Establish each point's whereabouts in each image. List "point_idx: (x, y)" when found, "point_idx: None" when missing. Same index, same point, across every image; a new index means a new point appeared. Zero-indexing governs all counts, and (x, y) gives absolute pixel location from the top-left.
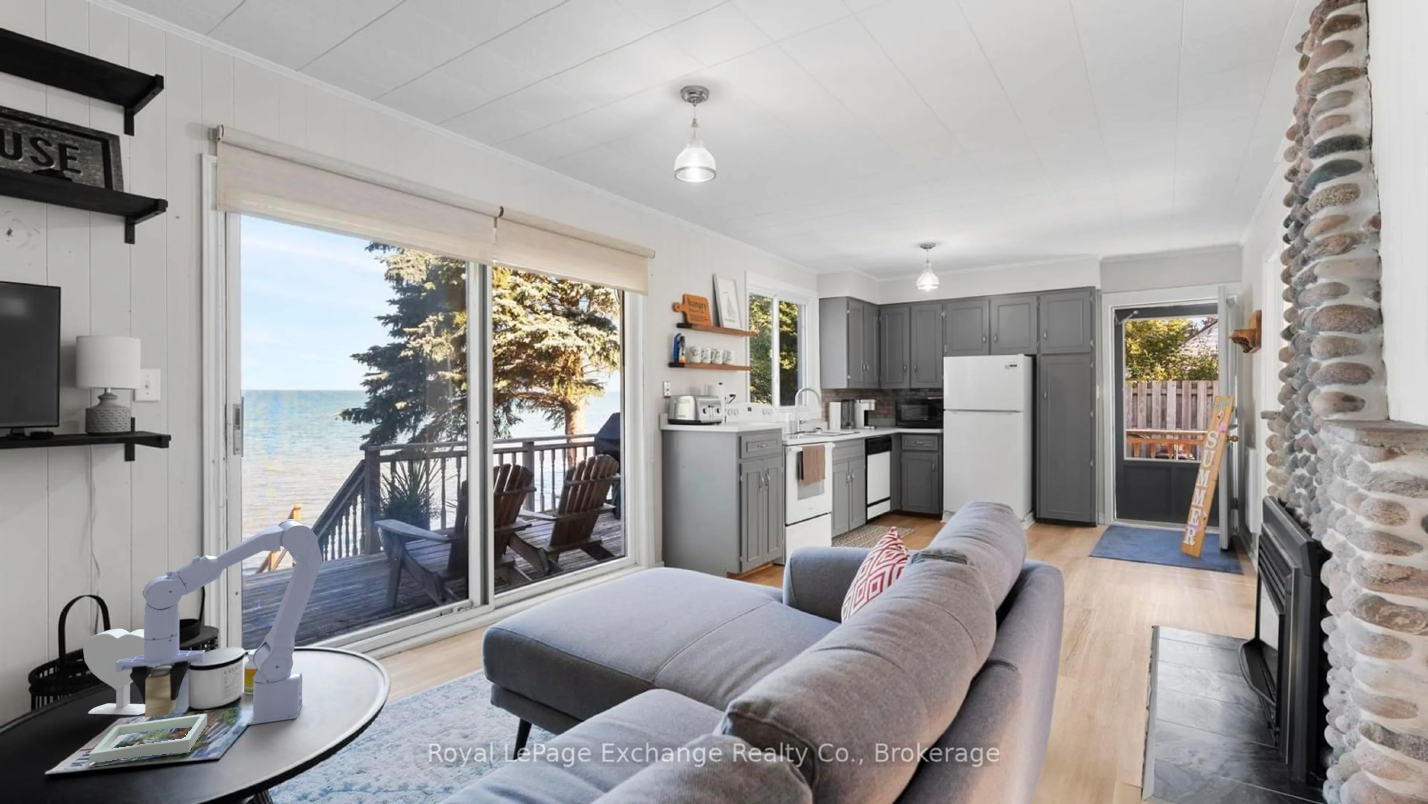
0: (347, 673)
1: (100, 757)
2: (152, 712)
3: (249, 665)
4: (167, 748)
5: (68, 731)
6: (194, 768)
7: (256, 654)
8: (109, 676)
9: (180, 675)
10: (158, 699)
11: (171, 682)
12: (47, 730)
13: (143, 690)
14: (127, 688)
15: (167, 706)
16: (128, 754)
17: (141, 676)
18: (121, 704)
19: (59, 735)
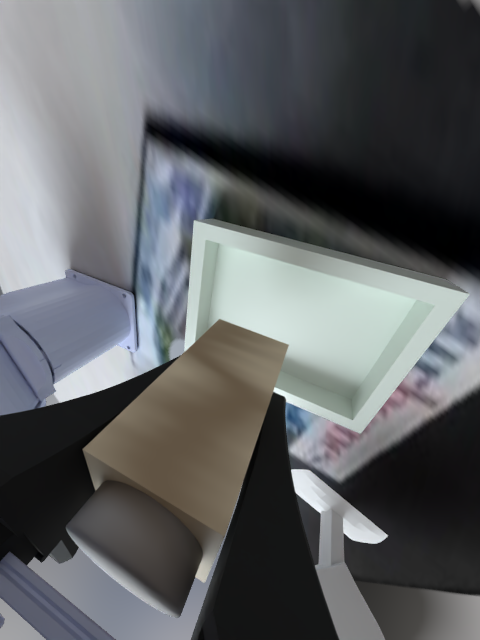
0: (63, 383)
1: (424, 278)
2: (262, 344)
3: None
4: (250, 231)
5: (437, 502)
6: (189, 90)
7: None
8: (361, 623)
9: (36, 411)
10: (223, 367)
11: (123, 406)
12: (474, 535)
13: (269, 449)
14: (323, 552)
15: (210, 334)
16: (344, 257)
17: (238, 596)
18: (334, 516)
19: (459, 500)
